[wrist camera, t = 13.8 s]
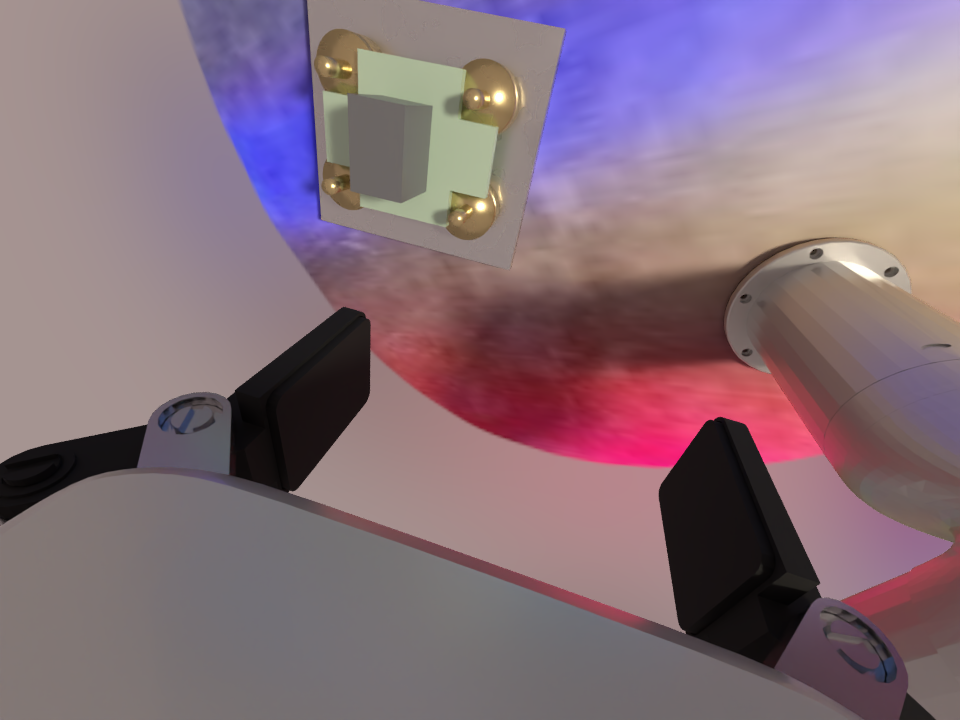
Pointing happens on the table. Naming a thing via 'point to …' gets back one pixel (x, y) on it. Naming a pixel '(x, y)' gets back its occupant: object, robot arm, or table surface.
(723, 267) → the table surface
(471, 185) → the board
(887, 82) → the table surface
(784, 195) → the table surface
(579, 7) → the table surface
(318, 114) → the chassis
